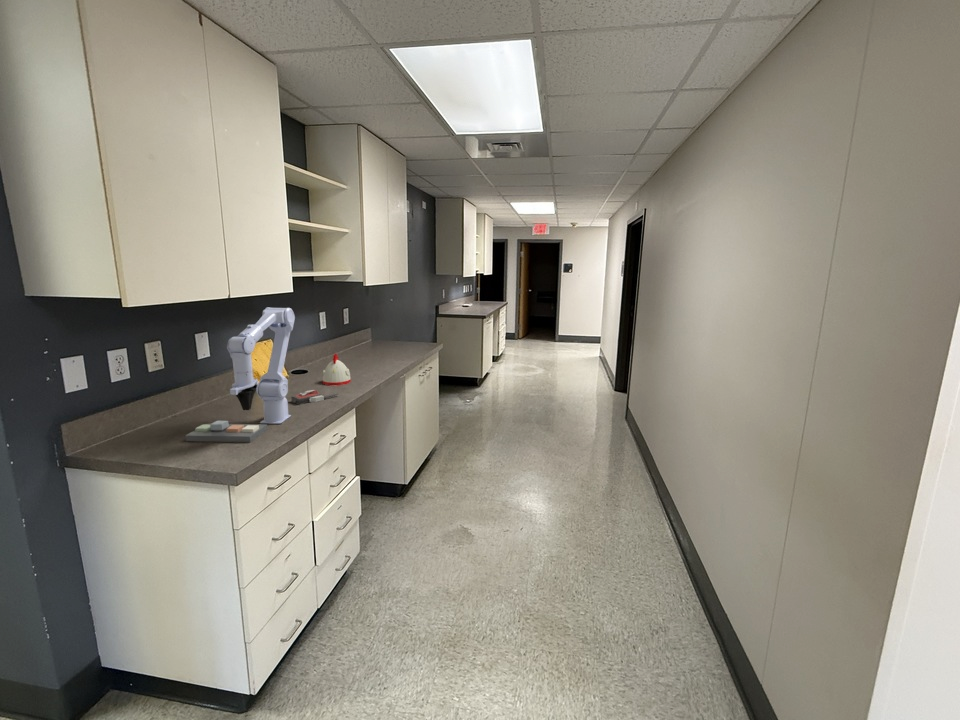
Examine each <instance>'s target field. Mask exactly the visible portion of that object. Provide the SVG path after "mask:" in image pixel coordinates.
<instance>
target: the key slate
mask: <svg viewBox="0 0 960 720" xmlns="http://www.w3.org/2000/svg"><path fill="white" fill-rule="evenodd" d="M209 424H210V427H211V430H214V432H223V431H225V430H226V428H227V427H228V426H229V424H230V423H229V420H216V421H213V422H212V423H209Z"/></svg>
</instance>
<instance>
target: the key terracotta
mask: <svg viewBox="0 0 960 720" xmlns="http://www.w3.org/2000/svg"><path fill="white" fill-rule="evenodd" d="M243 428H244V425H232V426H230V427H228V428H227V429H226V432H240V431H241V430H242V429H243Z"/></svg>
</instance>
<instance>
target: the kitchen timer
mask: <svg viewBox="0 0 960 720" xmlns="http://www.w3.org/2000/svg"><path fill="white" fill-rule="evenodd" d="M332 357H333V358H332V360H331V361H330V362H329V363H328V364H327V366H326V367H325V369H323V372H322V384H323V385H324V384H326V385H325V386H330V385H337V386H343V384H345V385H348V384H350V383H351V382H352V379H351V372H350V369H349V368H348V367H347V366H346V364H345V363H344V362H342V361H341V360H339V357H338V353H334V355H333V356H332ZM349 382H350V383H349ZM347 383H348V384H347Z"/></svg>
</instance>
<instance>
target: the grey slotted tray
mask: <svg viewBox="0 0 960 720" xmlns="http://www.w3.org/2000/svg"><path fill="white" fill-rule="evenodd" d="M205 424H206V425H210V424H211V423H205ZM232 425H244V427H246V426H247V425H259V429H258V430H257V431H255V432H254V433H246V432H242V430H241V431H240V432H226V430H225V431H223V432H214V430H210V431H208V432H196V431H195V430H193V431H191V432H189V433H187V434H185V442H212V443H214V442H217V443H218V442H220V443H221V442H223V443H225V442H226V443H227V442H228V443H252V442H253V441H254V440H256V439H257V438H258V437H259V436H261V435H263V434H264V433H266V432H267V431H268V424H266V423H259V424H255V423H252V424H251V423H250V424H249V423H229V426H228V427H230V426H232ZM228 427H227V428H228ZM227 428H226V429H227Z"/></svg>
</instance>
